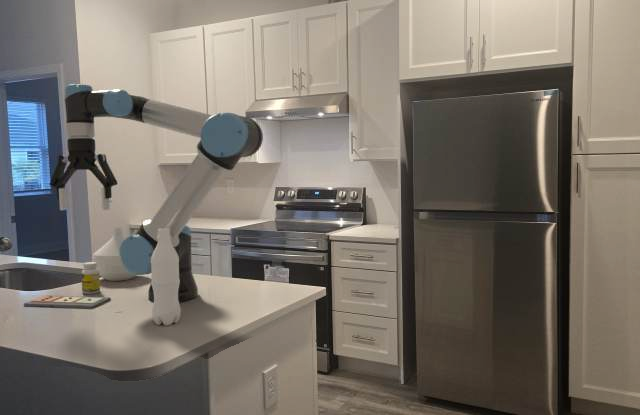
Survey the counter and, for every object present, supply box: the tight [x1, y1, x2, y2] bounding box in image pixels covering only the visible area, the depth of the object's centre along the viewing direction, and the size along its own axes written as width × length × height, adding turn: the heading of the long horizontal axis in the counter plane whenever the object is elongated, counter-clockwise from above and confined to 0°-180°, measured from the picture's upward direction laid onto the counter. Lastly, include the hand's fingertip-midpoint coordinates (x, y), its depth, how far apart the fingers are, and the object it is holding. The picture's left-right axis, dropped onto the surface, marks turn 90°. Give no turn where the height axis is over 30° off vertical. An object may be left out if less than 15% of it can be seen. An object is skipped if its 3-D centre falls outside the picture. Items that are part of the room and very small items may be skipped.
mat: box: [23, 295, 112, 309], centre depth 163 cm, size 22×10×1 cm, turn 82°
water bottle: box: [150, 228, 182, 327], centre depth 141 cm, size 7×7×25 cm
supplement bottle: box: [81, 261, 101, 295], centre depth 177 cm, size 5×5×10 cm
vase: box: [91, 226, 137, 282], centre depth 198 cm, size 18×18×19 cm
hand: (84, 209), depth 160 cm, fingers open, 13 cm apart
